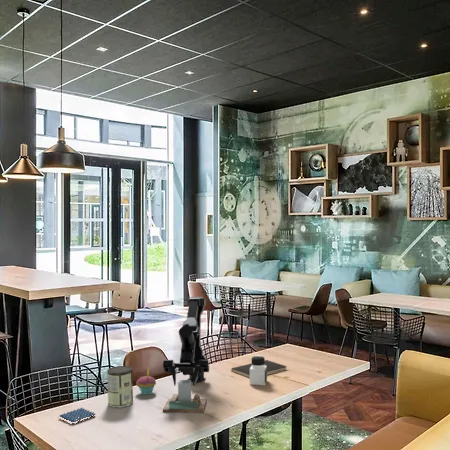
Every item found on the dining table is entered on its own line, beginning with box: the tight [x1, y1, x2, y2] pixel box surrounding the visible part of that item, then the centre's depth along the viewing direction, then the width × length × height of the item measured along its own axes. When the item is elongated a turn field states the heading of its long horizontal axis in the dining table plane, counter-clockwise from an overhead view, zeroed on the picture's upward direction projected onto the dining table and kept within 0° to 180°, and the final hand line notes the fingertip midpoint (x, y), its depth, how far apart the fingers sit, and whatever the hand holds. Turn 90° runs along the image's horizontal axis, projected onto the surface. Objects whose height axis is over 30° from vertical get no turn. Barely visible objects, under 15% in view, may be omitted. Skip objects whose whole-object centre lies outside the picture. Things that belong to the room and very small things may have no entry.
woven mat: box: [59, 407, 96, 422], centre depth 185 cm, size 10×11×2 cm
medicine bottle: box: [249, 355, 268, 386], centre depth 223 cm, size 7×7×12 cm
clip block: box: [177, 379, 192, 401], centre depth 194 cm, size 4×4×9 cm
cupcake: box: [135, 366, 157, 395], centre depth 212 cm, size 9×8×12 cm
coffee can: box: [106, 365, 134, 408], centre depth 200 cm, size 10×10×14 cm
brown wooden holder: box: [162, 393, 208, 413], centre depth 194 cm, size 12×16×4 cm
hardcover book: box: [230, 359, 288, 379], centre depth 242 cm, size 16×23×2 cm
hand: (184, 385), depth 193 cm, fingers open, 7 cm apart
